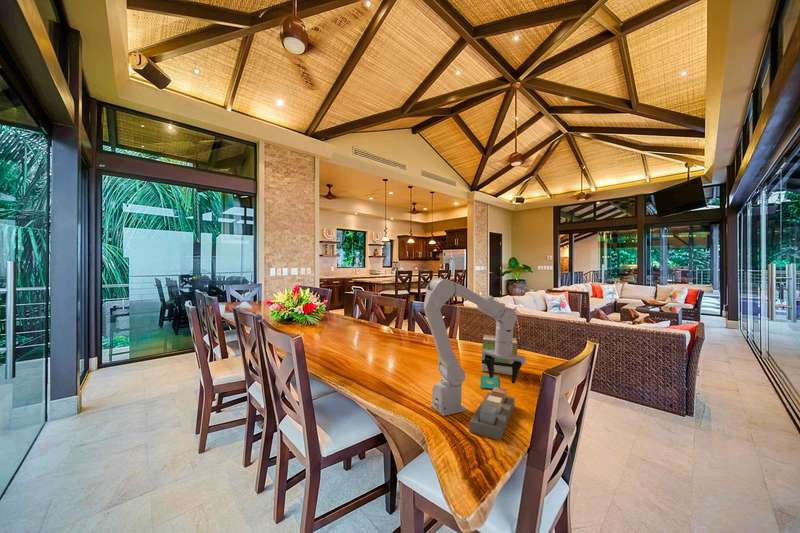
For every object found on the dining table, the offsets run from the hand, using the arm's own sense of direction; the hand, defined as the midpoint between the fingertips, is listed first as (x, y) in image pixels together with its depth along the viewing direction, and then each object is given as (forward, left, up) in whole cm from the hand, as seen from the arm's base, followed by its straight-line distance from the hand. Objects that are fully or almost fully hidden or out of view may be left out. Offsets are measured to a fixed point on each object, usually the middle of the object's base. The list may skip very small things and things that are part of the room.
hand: (502, 379), depth 112 cm
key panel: (-9, -6, -9) cm, 14 cm away
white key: (-9, -6, -7) cm, 13 cm away
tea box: (+24, +27, -9) cm, 37 cm away
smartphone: (+10, +17, -9) cm, 21 cm away
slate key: (-16, -11, -7) cm, 20 cm away
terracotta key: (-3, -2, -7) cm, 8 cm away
